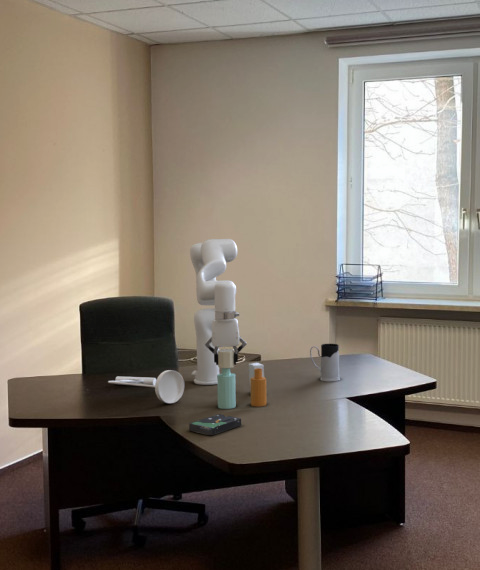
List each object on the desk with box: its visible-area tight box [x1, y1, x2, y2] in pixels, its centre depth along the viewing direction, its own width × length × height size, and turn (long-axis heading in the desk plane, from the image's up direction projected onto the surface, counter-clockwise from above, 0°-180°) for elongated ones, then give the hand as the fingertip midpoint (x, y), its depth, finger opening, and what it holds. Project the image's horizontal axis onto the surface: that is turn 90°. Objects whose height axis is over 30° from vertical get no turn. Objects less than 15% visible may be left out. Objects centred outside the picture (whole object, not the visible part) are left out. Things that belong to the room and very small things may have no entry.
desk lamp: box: [107, 369, 185, 404], centre depth 298 cm, size 12×22×45 cm
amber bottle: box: [249, 368, 267, 408], centre depth 276 cm, size 6×6×14 cm
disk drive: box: [188, 413, 242, 436], centre depth 245 cm, size 10×3×15 cm
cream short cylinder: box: [218, 348, 235, 369], centre depth 273 cm, size 6×6×6 cm
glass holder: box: [309, 343, 341, 382], centre depth 321 cm, size 9×14×15 cm, turn 58°
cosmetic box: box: [248, 362, 265, 394], centre depth 293 cm, size 6×4×12 cm
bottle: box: [216, 368, 237, 410], centre depth 274 cm, size 7×7×16 cm
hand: (226, 363), depth 273 cm, fingers closed on cream short cylinder, 6 cm apart
